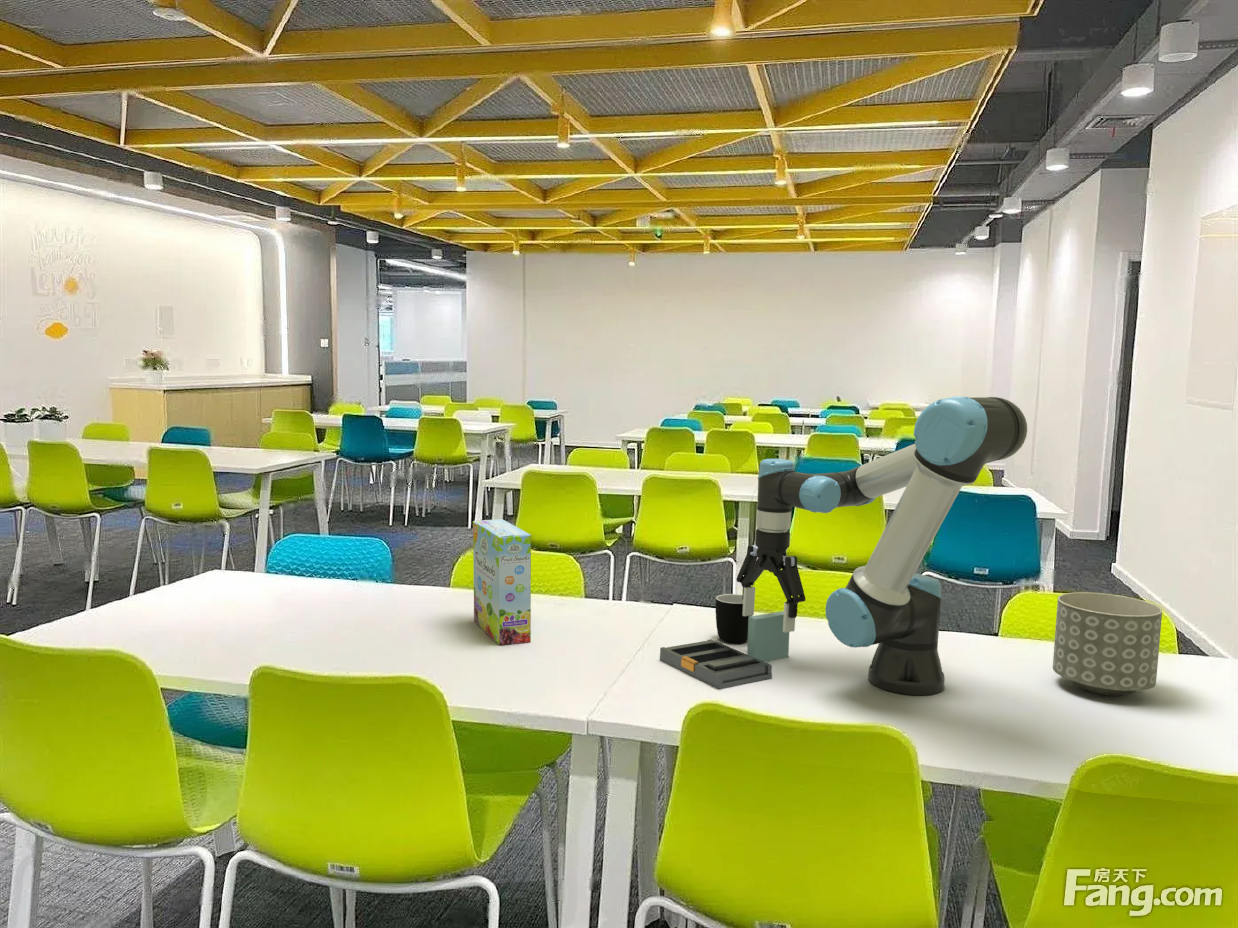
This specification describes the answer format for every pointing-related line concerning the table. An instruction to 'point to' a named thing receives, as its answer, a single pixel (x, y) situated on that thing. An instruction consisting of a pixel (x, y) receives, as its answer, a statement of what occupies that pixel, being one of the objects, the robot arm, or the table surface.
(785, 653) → the block
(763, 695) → the table surface
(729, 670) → the rack
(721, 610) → the mug
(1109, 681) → the planter
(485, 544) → the snack box
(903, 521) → the robot arm
